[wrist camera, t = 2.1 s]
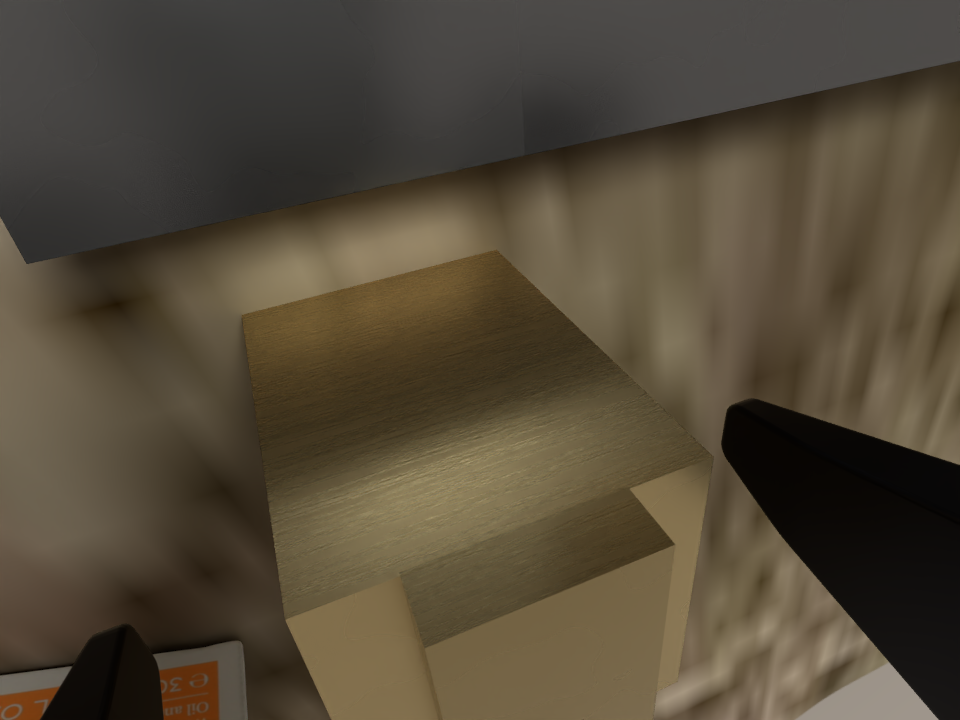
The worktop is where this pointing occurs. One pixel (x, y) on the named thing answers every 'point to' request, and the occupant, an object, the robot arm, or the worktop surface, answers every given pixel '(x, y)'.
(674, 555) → the stepped wooden chunk
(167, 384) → the worktop surface
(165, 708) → the skincare box
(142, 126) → the grey slotted board
